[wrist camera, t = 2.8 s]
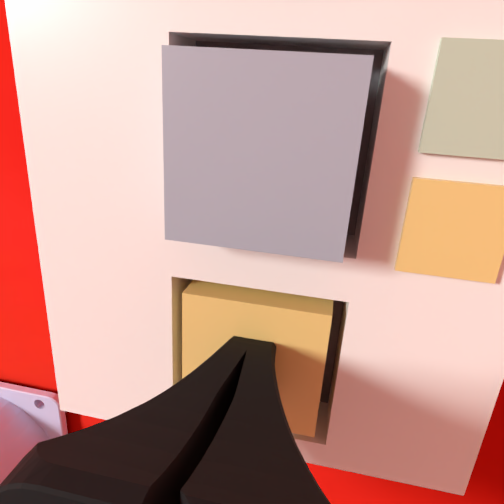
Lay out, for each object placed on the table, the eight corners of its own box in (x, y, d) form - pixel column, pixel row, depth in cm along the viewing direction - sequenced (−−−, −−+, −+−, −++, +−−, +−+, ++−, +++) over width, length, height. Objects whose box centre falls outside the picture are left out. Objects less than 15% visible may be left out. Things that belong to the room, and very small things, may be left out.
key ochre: (200, 374, 16) (182, 410, 14) (202, 267, 14) (181, 292, 12) (317, 395, 15) (314, 437, 13) (334, 285, 14) (332, 316, 12)
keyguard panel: (103, 361, 18) (56, 413, 15) (49, -280, 11) (-60, -417, 8) (443, 425, 16) (465, 501, 13) (666, -337, 9) (831, -559, 6)
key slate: (191, 217, 12) (164, 239, 11) (192, 52, 11) (161, 44, 9) (343, 236, 12) (342, 262, 10) (368, 62, 10) (374, 55, 8)
